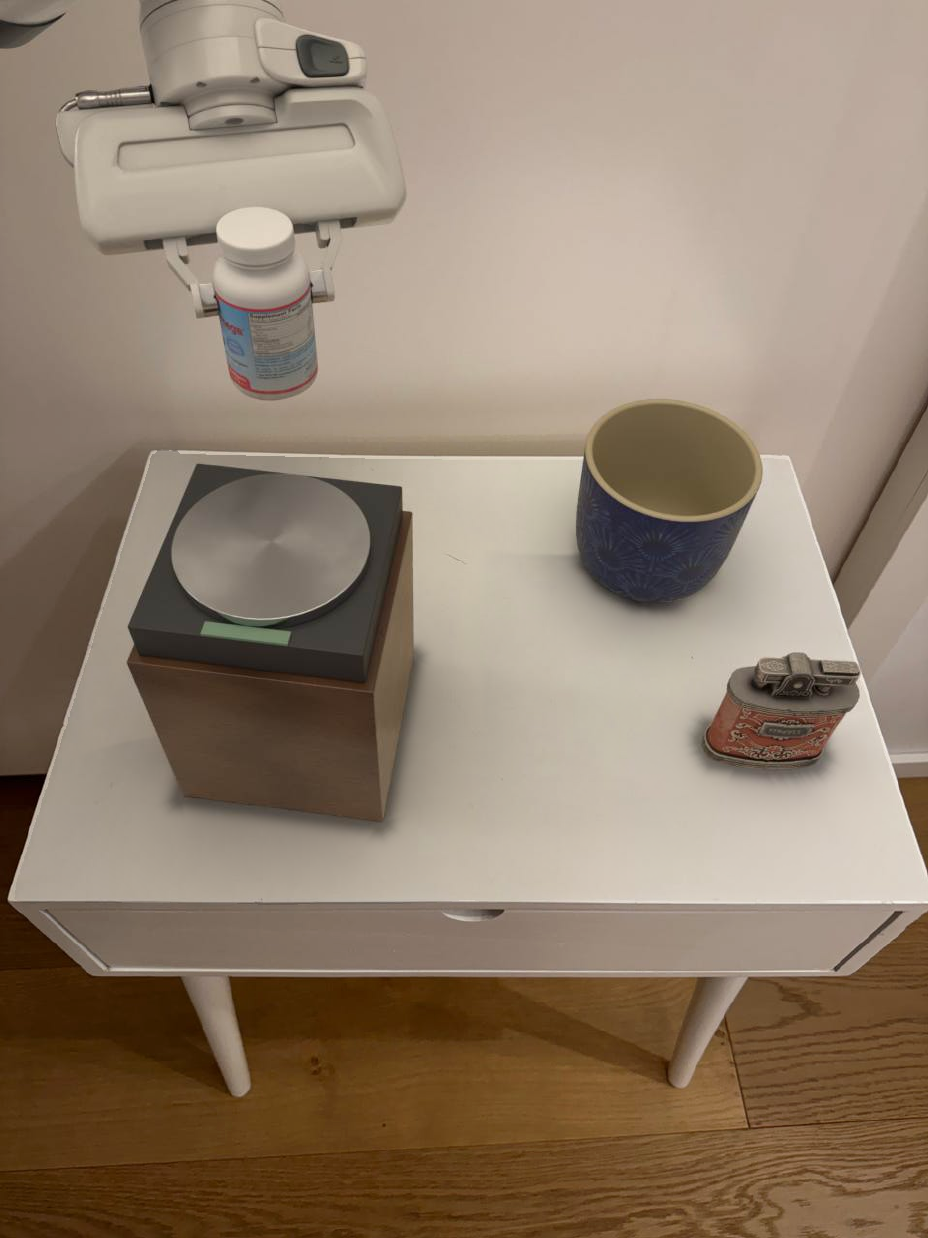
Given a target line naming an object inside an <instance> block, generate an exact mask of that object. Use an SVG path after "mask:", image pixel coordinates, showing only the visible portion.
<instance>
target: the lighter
mask: <svg viewBox="0 0 928 1238" xmlns="http://www.w3.org/2000/svg"><path fill="white" fill-rule="evenodd" d="M861 675H862V671H861V667H860V665H859V664H858V663H857V662H856V661H853V660H852V661H851V660H837V659H836V660H831V659H815V658H814V659H812V658H810V657H809V656H808V655H807V653H805V652H800V651H799V652H797V651H795V652H791V653H788V654H787V655H784V656H782V657H770V656H769V657H766V656H764V657H761V658H759V659H758V662H757V663H756V665H753V666H752V665H751V666H742V667H739V668H736V669H735V670H733V672H731V675H730V677H729V679H728V681H727V684H726V692H725V694H724V697H723V699H722V701H721V703H720V705H719V707H718V710H717V711H716V713H715V716H714V718H713V720H712V722H711V723H710V724H709V725H708V726H707V727H706V728H705V731H704V733H703V735H702V738H701V747H702V750H703V753H704V754H705V755H706V756H707V757H708V758H709V759H710V760H711V761H714V762H716V763H721V764H725V765H729V766H734V767H739V768H747V769H757V770H789V769H790V770H791V769H797V768H806V767H812V766H814V765H815V764H816V763H817V762H818V761H819V760H820V759H821V757H822V756H823V753H824V749H825V746H826V744H827V743H828V741H829V740H830V739H831V737H832V735H833V734H834V732H835V730H837V727H838V726H839V725H840V723H841V722H842V720H843V719H844V717H845V716H846V714H848V713H850V712H851V711H852V710H853V709H854V708H855V707H856V705H857V704H858V702H859V700H860V696H861V694H860V693H861V692H860V688H859V686H858V683H857V681H859V678H860V677H861Z"/></svg>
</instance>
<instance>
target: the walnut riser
mask: <svg viewBox="0 0 928 1238" xmlns="http://www.w3.org/2000/svg"><path fill="white" fill-rule="evenodd" d="M413 514H414V513H413V511H408V510H403V518H402V522H401V527H400V531H399V536H398V540H397V545H396V549H395V554H394V558H393V563H392V567H391V572H390V576H389V581H388V585H387V590H386V594H385V599H384V603H383V608H382V612H381V617H380V621H379V626H378V630H377V635H376V639H375V644H374V648H373V653H372V657H371V662H370V666H369V671H368V675H367V680H366V682H365V683H360V682H352V681H344V680H336V679H328V678H320V677H311V676H303V675H295V674H287V673H279V672H271V671H263V670H254V669H246V668H238V667H230V666H222V665H214V664H206V663H197V662H189V661H181V660H173V659H165V658H157V657H149V656H140V655H138V652H137V650H136V647H135V645H134V644H133V646H132V647H131V650H130V652H129V655H128V657H127V660H126V665H127V667H128V670H129V672H130V674H131V677H132V679H133V681H134V684H135V687H136V689H137V691H138V693H139V697H140V698H141V701H142V703H143V705H144V707H145V710H146V713H147V715H148V717H149V719H150V722H151V724H152V726H153V729H154V730H155V733H156V736H157V738H158V741H159V743H160V745H161V747H162V750H163V752H164V754H165V756H166V759H167V761H168V763H169V767H170V768H171V771H172V773H173V776H174V778H175V780H176V782H177V785H178V787H179V790H180V792H181V794H182V796H183V797H188V798H189V797H191V798H198V799H207V800H214V801H222V802H228V803H236V804H245V805H252V806H261V807H268V808H274V809H275V808H276V809H284V810H291V811H299V812H307V813H312V814H313V813H314V814H322V815H329V816H335V817H336V816H337V817H345V818H351V819H352V818H353V819H361V820H368V821H376V822H383V821H384V816H385V811H386V807H387V801H388V796H389V790H390V785H391V779H392V774H393V769H394V764H395V759H396V753H397V748H398V743H399V737H400V732H401V726H402V721H403V716H404V710H405V707H406V706H405V705H406V700H407V695H408V690H409V686H410V685H409V684H410V680H411V674H412V670H413V669H412V668H413V664H414V657H415V645H414V643H415V639H414V638H415V637H414V634H415V633H414V632H415V631H414V629H415V628H414V544H413V543H414V533H413V532H414V531H413V530H414V528H413V525H414V523H413V521H414V520H413V519H414V517H413Z"/></svg>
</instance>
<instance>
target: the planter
mask: <svg viewBox="0 0 928 1238" xmlns="http://www.w3.org/2000/svg"><path fill="white" fill-rule="evenodd" d="M583 451H584V452H583V458H582V465H581V472H580V479H579V487H578V494H577V503H576V511H575V512H576V514H575V517H576V518H575V537H576V538H575V539H576V543H577V544H576V545H577V549H578V554H579V555H580V558H581V560H582V562H583V565H584V566H585V568H586V569H587V571H588V572H589V573H590V574H591V576H592V577H593V578H594V579H595V580H596V581H597V582H599V583H600V584H601V585H602V586H604V587H605V588H606V589H607V590H610V591H611V592H613V593H615V594H617V595H618V596H621V597H623V598H626V599H629V600H632V601H635V602H640V603H641V602H642V603H648V604H663V603H664V604H666V603H671V602H672V603H673V602H677V601H680V600H683V599H686V598H688V597H690V596H692V595H695V594H696V593H698V592H699V591H701V590H702V589H704V588H705V587H706V586H707V585H708V584H709V583H710V582H711V581H712V580H713V579H714V578H715V577H716V575H717V574H718V572H719V571H720V570H721V568H722V567H723V565H724V564H725V562H726V560H727V558H728V556H729V554H730V552H732V548H733V547H734V545H735V543H736V540H737V539H738V537H739V534H740V532H741V530H742V527H743V526H744V524H745V522H746V519H747V517H748V514H749V513H750V510H751V508H752V506H753V503H754V501H755V498H756V496H757V494H758V491H759V489H760V487H761V485H762V480H763V475H764V474H763V473H764V470H763V469H764V467H763V462H762V458H761V455H760V452H759V451H758V448H757V447H756V444H755V443H754V441H753V440H752V439H751V437H750V436H749V435H748V434H747V432H746V431H744V430H743V429H742V428H741V427H740V426H739V425H737V424H736V423H735V422H733V421H732V420H731V419H729V418H728V417H726V416H724V415H723V414H721V413H719V412H717V411H715V410H713V409H710V408H708V407H705V406H704V405H701V404H697V403H694V402H689V401H684V400H679V399H670V398H647V399H639V400H634V401H630V402H627V403H624V404H621V405H619V406H616V407H615V408H612V409H610V410H609V411H607V412H606V413H605V414H603V415H601V416H600V418H598V419H597V421H596V422H594V424H593V425H592V427H591V428H590V430H589V432H588V434H587V436H586V439H585V445H584V450H583Z"/></svg>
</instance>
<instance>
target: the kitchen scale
mask: <svg viewBox="0 0 928 1238" xmlns="http://www.w3.org/2000/svg"><path fill="white" fill-rule="evenodd" d="M403 503H404V502H403V487H402V486H400V485H392V484H384V483H375V482H367V481H357V480H349V479H341V478H340V479H339V478H333V477H332V478H331V477H321V476H315V475H314V476H313V475H305V474H297V473H288V472H287V473H286V472H277V471H269V470H259V469H253V468H251V469H250V468H242V467H233V466H225V465H216V464H207V463H199V462H198V463H196V464H195V466H194V469H193V472H192V474H191V476H190V478H189V481H188V483H187V486H186V488H185V490H184V492H183V495H182V497H181V500H180V502H179V504H178V506H177V509H176V511H175V514H174V516H173V518H172V520H171V523H170V525H169V528H168V530H167V531H166V532H167V533H166V534H165V537H164V539H163V541H162V545H161V547H160V549H159V551H158V554H157V556H156V558H155V561H154V563H153V566H152V568H151V570H150V572H149V575H148V578H147V580H146V582H145V584H144V587H143V589H142V592H141V594H140V596H139V599H138V601H137V603H136V606H135V607H134V610H133V612H132V615H131V617H130V620H129V621H128V623H127V630H128V633H129V635H130V638H131V640H132V643H133V645H135V647H136V650H137V652H138V655H140V656H149V657H157V658H165V659H173V660H181V661H189V662H197V663H206V664H214V665H222V666H230V667H238V668H246V669H254V670H263V671H271V672H279V673H287V674H295V675H303V676H311V677H320V678H328V679H336V680H344V681H352V682H360V683H365V682H366V680H367V675H368V671H369V666H370V662H371V657H372V653H373V648H374V644H375V639H376V635H377V630H378V626H379V621H380V617H381V612H382V608H383V603H384V599H385V594H386V590H387V585H388V581H389V576H390V572H391V567H392V563H393V558H394V554H395V549H396V545H397V540H398V536H399V531H400V527H401V522H402V518H403V511H404V510H403V509H404V506H403Z"/></svg>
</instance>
